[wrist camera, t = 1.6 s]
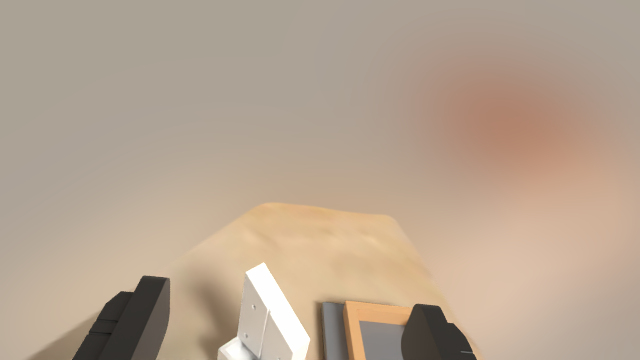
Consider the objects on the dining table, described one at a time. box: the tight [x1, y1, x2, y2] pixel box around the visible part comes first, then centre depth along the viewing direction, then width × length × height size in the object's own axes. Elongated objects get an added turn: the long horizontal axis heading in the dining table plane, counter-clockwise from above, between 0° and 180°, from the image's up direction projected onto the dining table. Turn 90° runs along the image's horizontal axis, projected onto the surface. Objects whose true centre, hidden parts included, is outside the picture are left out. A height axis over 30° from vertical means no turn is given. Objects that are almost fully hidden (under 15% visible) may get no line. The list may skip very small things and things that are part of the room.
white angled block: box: [217, 263, 310, 360], centre depth 29 cm, size 4×10×9 cm, turn 49°
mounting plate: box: [321, 301, 413, 360], centre depth 34 cm, size 12×12×2 cm
